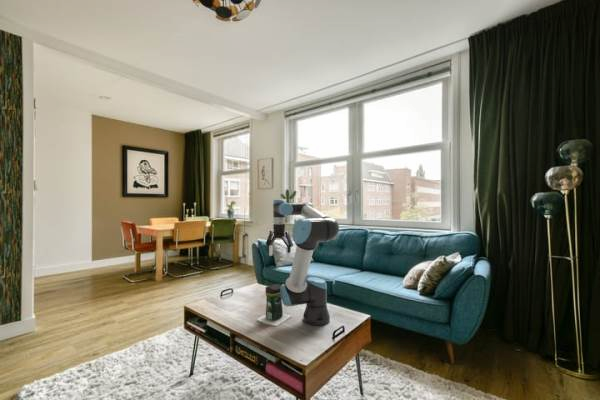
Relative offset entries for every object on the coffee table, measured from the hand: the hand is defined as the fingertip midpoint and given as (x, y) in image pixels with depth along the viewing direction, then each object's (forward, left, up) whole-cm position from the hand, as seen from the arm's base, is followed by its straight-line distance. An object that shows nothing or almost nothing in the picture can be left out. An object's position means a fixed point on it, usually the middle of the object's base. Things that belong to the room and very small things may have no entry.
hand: (279, 256), depth 175 cm
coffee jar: (-9, +17, -31) cm, 36 cm away
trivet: (-9, +17, -32) cm, 37 cm away
